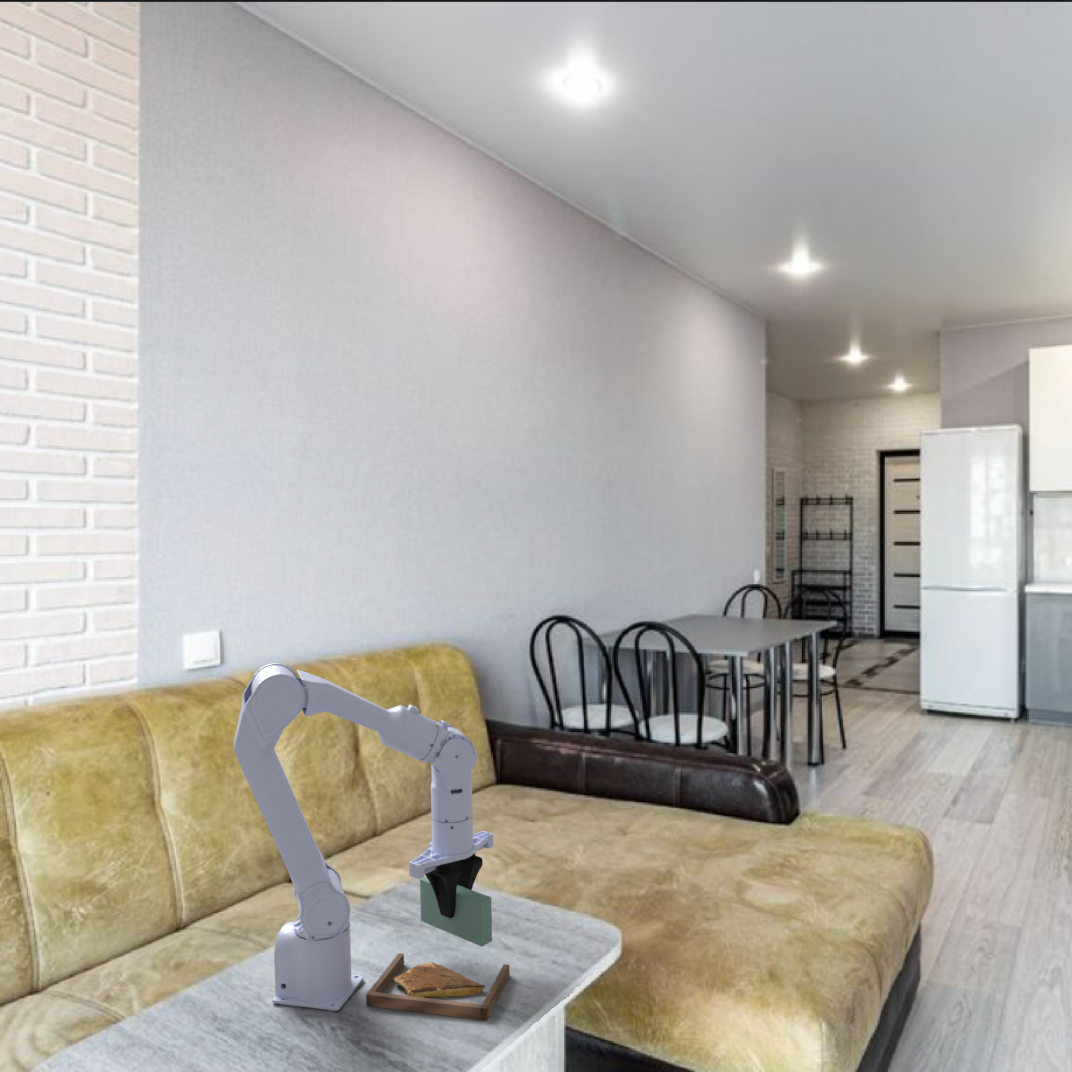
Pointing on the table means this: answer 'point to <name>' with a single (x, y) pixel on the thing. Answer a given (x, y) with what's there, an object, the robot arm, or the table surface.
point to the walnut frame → (432, 1005)
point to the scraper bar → (459, 914)
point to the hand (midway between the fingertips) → (453, 912)
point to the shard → (436, 982)
